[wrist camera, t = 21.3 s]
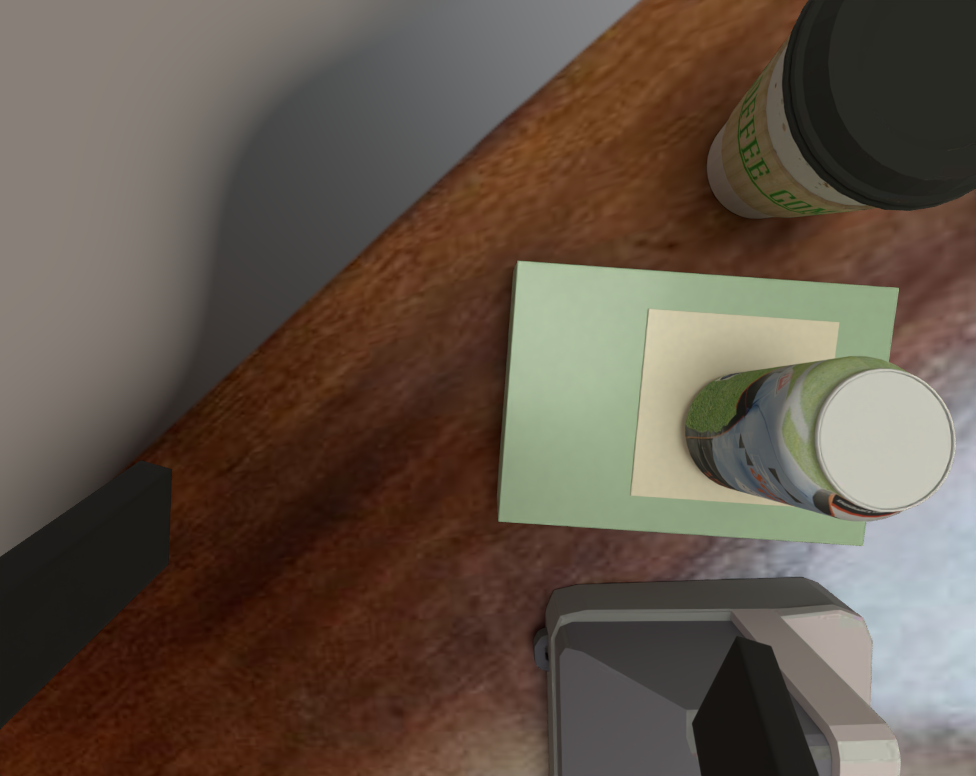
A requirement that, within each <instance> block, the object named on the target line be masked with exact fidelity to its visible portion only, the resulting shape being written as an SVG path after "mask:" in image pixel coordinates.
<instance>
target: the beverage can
mask: <svg viewBox="0 0 976 776" xmlns="http://www.w3.org/2000/svg"><path fill="white" fill-rule="evenodd" d="M685 437H686V443H687V447H688V450H689V453H690V456H691V457H692V459H693V461H694V463H695V465H696V466H697V467H698V468H699V469H700V471H701V472H702V473H703V474H704V475H705V476H707V477H708V478H709V479H710V480H712V481H713V482H715V483H717V484H718V485H721V486H723V487H726V488H729V489H732V490H736V491H740V492H743V493H747V494H751V495H754V496H758V497H761V498H765V499H769V500H772V501H776V502H780V503H783V504H787V505H791V506H794V507H798V508H802V509H805V510H809V511H813V512H816V513H820V514H823V515H827V516H831V517H834V518H838V519H843V520H848V521H867V522H868V521H874V520H880V519H885V518H888V517H890V516H893V515H896V514H898V513H900V512H902V511H904V510H907V509H909V508H912V507H915V506H917V505H919V504H921V503H922V502H924V501H926V500H927V499H928V498H930V497H931V496H932V495H933V494H934V493H935V492H936V491H937V490H938V489H939V488H940V486H941V485H942V484H943V483H944V481H945V479H946V477H947V476H948V474H949V472H950V469H951V466H952V463H953V461H954V455H955V449H956V435H955V429H954V424H953V421H952V418H951V415H950V412H949V410H948V408H947V406H946V405H945V403H944V401H943V400H942V398H941V397H940V396H939V395H938V393H937V392H936V391H935V390H934V389H933V388H932V387H931V386H929V385H928V384H927V383H926V382H925V381H923V380H921V379H920V378H918V377H916V376H915V375H912V374H910V373H908V372H906V371H905V370H903V369H902V368H900V367H898V366H897V365H894V364H892V363H889V362H887V361H884V360H882V359H877V358H872V357H867V356H848V357H841V358H834V359H827V360H821V361H814V362H807V363H800V364H794V365H787V366H780V367H774V368H767V369H760V370H753V371H747V372H740V373H734V374H728V375H725V376H722V377H719V378H717V379H715V380H714V381H712V382H710V383H709V384H708V385H706V386H705V387H704V388H703V389H702V390H701V391H700V392H699V393H698V395H697V396H696V397H695V399H694V401H693V402H692V404H691V406H690V409H689V411H688V414H687V419H686V424H685Z"/></svg>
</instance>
